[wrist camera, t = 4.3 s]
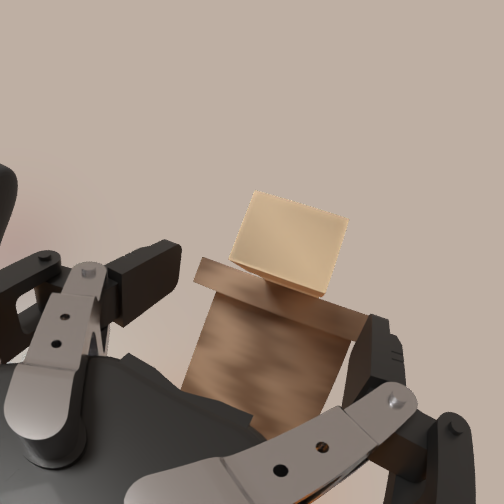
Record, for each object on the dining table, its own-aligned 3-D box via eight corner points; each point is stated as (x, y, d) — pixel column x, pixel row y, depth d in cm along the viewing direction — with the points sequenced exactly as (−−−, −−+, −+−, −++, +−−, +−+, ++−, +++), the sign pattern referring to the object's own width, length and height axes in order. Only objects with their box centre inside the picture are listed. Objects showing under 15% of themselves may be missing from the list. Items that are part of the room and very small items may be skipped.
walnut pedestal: (117, 525, 19) (202, 256, 22) (161, 484, 30) (239, 275, 34) (232, 579, 15) (383, 320, 19) (254, 524, 27) (357, 316, 30)
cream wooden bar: (228, 259, 12) (255, 190, 13) (282, 292, 36) (291, 267, 36) (325, 293, 11) (349, 218, 12) (315, 303, 35) (324, 278, 35)
